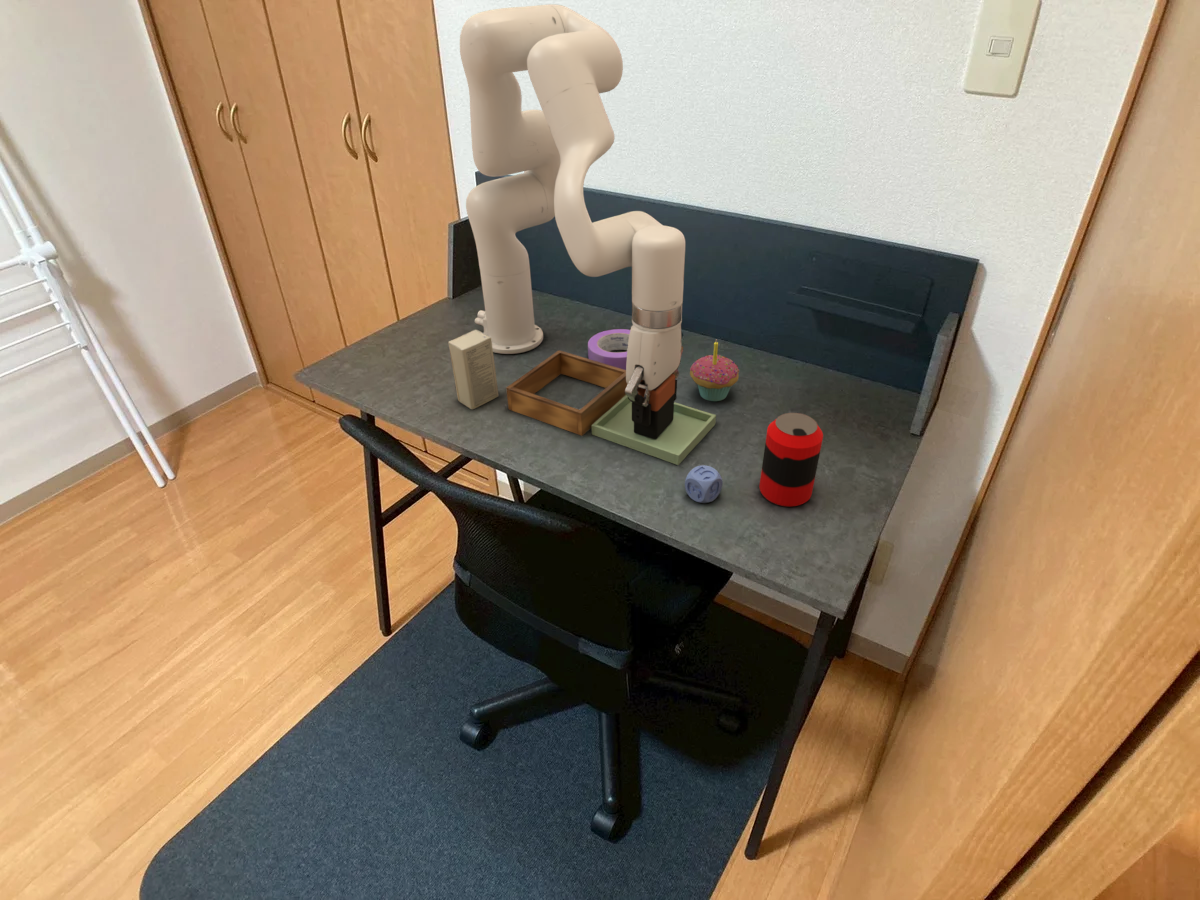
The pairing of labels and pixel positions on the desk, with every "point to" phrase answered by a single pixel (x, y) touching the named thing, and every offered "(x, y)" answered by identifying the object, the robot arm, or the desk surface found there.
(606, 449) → the desk surface
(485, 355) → the cosmetic box
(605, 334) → the tape roll
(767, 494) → the soda can
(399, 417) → the desk surface
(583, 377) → the wooden frame
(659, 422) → the battery
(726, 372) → the cupcake
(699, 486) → the decorative dice
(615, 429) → the tray
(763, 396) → the desk surface
